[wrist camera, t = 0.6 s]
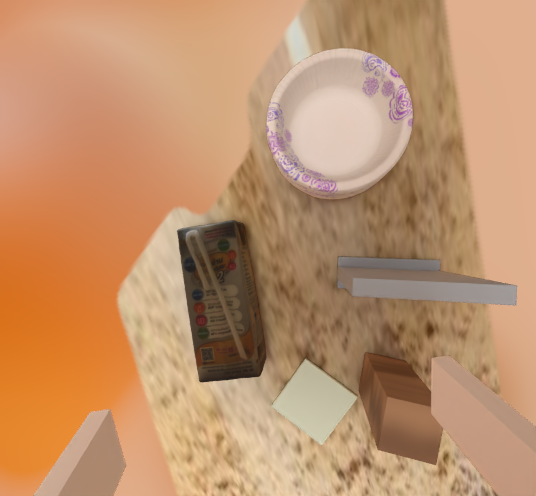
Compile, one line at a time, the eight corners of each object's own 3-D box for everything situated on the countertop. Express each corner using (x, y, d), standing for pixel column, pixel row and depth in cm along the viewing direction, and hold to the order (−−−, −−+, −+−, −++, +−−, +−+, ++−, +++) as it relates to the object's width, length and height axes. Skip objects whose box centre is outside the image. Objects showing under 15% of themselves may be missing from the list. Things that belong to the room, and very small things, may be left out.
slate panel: (337, 287, 37) (351, 311, 23) (338, 256, 37) (353, 262, 23) (436, 292, 35) (515, 321, 22) (437, 260, 35) (517, 269, 22)
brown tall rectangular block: (365, 352, 37) (387, 396, 26) (406, 361, 36) (446, 410, 25) (358, 389, 37) (377, 449, 26) (399, 399, 36) (436, 465, 25)
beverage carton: (247, 221, 39) (235, 216, 33) (269, 359, 39) (261, 383, 32) (193, 231, 40) (170, 228, 34) (214, 365, 40) (195, 388, 34)
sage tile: (305, 357, 38) (305, 359, 37) (357, 395, 37) (357, 397, 36) (272, 404, 39) (271, 406, 38) (321, 442, 38) (321, 445, 37)
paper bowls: (418, 127, 36) (448, 94, 28) (344, 226, 37) (353, 221, 29) (319, 64, 37) (321, 16, 30) (252, 161, 39) (236, 140, 31)
